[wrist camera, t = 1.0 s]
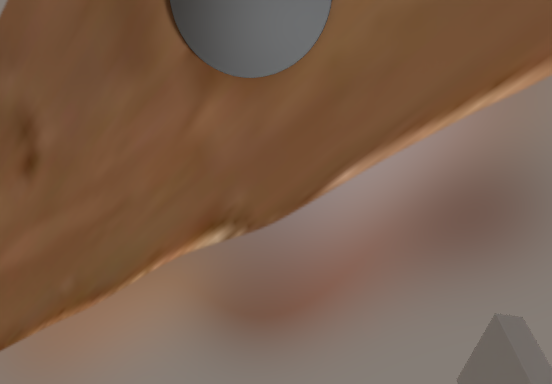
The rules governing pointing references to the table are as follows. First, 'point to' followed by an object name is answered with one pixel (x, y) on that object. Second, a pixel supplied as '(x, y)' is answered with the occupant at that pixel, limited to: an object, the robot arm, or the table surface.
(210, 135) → the table surface
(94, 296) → the table surface
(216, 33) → the coaster
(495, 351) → the robot arm
